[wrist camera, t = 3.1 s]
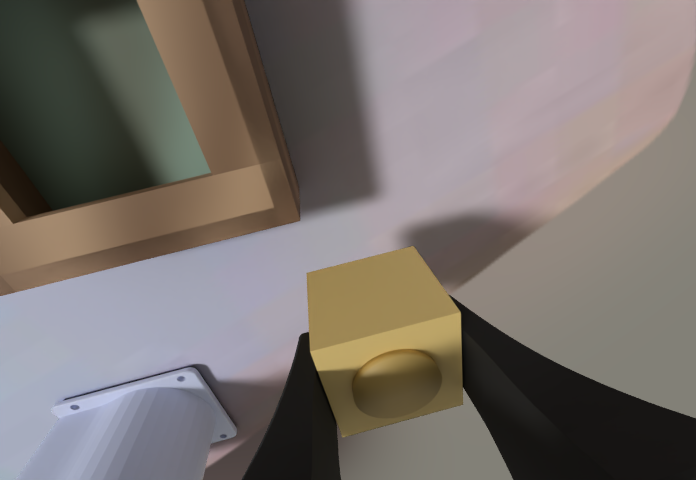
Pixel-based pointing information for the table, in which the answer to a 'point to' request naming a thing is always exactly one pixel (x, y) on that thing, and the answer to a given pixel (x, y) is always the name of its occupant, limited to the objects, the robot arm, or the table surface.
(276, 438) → the robot arm
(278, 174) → the piece box
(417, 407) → the yellow dimpled cube
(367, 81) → the table surface
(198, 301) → the table surface
